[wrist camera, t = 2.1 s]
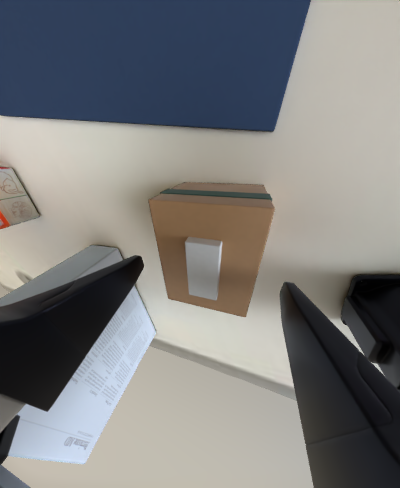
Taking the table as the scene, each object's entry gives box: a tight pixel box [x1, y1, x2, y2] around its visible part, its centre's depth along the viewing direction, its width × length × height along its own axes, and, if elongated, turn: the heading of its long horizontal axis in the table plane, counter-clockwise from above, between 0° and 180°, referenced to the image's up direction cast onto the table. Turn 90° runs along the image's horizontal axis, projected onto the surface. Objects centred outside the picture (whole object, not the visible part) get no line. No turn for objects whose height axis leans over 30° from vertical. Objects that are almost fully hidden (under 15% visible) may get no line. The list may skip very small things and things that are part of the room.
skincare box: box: [0, 245, 156, 464], centre depth 19 cm, size 21×5×16 cm, turn 7°
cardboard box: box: [148, 182, 275, 317], centre depth 11 cm, size 6×8×6 cm
